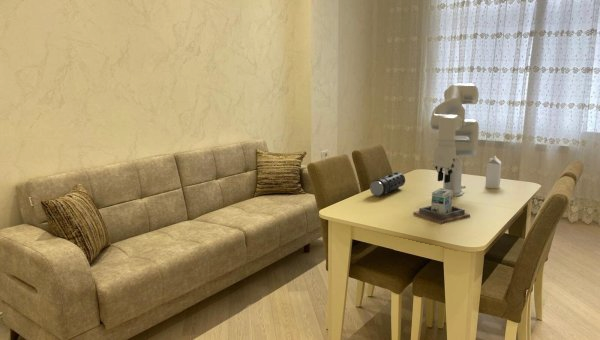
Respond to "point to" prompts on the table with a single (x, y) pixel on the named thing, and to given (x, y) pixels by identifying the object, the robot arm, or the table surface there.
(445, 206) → the light bulb box
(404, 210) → the table surface
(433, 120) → the robot arm
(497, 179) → the milk carton
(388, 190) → the muzzle brake
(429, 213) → the tray
